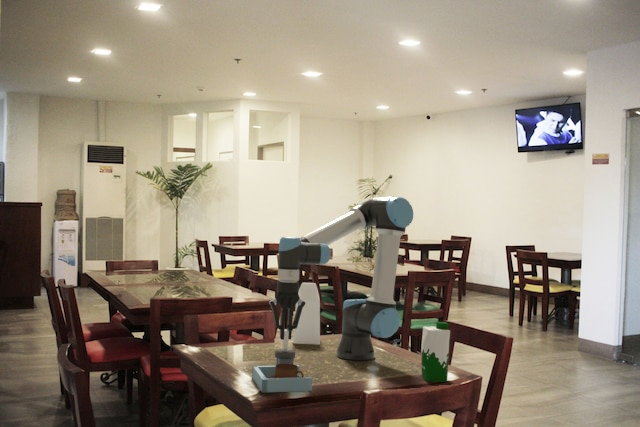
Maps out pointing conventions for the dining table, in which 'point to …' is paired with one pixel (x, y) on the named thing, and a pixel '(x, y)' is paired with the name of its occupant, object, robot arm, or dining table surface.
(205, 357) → the dining table surface
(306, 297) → the milk
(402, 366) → the dining table surface
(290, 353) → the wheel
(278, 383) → the light blue tray
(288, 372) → the cup and saucer
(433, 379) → the milk carton
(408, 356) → the dining table surface
